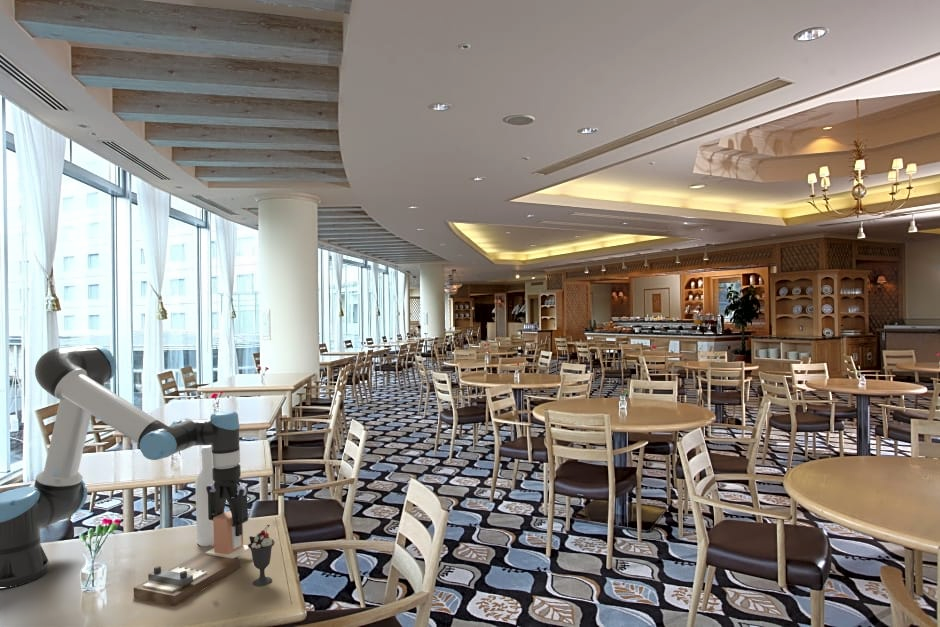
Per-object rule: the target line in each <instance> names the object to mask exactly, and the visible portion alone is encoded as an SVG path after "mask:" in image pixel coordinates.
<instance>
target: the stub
mask: <svg viewBox="0 0 940 627" xmlns="http://www.w3.org/2000/svg"><path fill="white" fill-rule="evenodd" d="M233 524H234V523H233V518H232V514H231V510H226V511H224V513H223V514H220V515H218V516H216V517H214V518H213V525H214V545H213V548H211V549H210V550H208V551H205V553H206V554H207V555H213V556H219V557H226V558H232V559H233V558H237V557H239V556H240V555H242V554H245V552H248V551H249V550H251V549H250V548H249V547H248V545H246V544H244V523H242V535H241V545H240V546H239V547H237V548H235V549H233V548H232V525H233Z"/></svg>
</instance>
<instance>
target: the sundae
mask: <svg viewBox="0 0 940 627" xmlns="http://www.w3.org/2000/svg"><path fill="white" fill-rule="evenodd" d="M270 526H271V525H270V524H267V525H266V527H265V528H264V529H263V530H260V532H259V533H257V534H256V535H255V536H249V537H248V539H249V542H250V543H248V545H247V546H248V547H249V548H250V549H249V550H250V552H251V558H252V563H253V566H254V567H255V568H256V569H258V570H259V577H258V578H256V579H254V580H253V581H252V585H253V586H254V587H264V586H267V585H269V584H271V583H272V582H273V578H272V577H269V576H266V573H265V570H266V568H267V567H268V566H269V565H270V563H271V557H272V548H273V546H275V539H272V538H271V536H270V534H269V533H268V532H267V530H268V528H269V527H270Z"/></svg>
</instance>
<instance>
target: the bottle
mask: <svg viewBox="0 0 940 627" xmlns="http://www.w3.org/2000/svg"><path fill="white" fill-rule="evenodd" d="M200 454H201V468H202V469H201V470H200V471H199V472H198V474H196V478H195V481H194V483H195V484H194V486H195V510H196V511H195V512H196V513H195V514H196V541H197V542H196V543H198V544H199V545H201V546H200V547H210V546H209V545H213V546H214V525H213V520H209V519H208V493H207V490H206V487H207V486H210V485H212V484H214V482H215V481H213V476H212V469H213V466H212V448H211V445H202V447H201V451H200ZM198 544H197V545H198ZM199 545H198V546H199Z"/></svg>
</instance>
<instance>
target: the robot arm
mask: <svg viewBox="0 0 940 627" xmlns="http://www.w3.org/2000/svg"><path fill="white" fill-rule="evenodd" d="M116 371H117V361H116V358H115V356H114V355H113V354H112V352H111V351H110V350H109V349H107V348H106V347H104V346H103V345H102V346H101V345H90V344H86V345H79V346H68V347H57V348H53V349H50V350H48V351H47V352H45V353H43V354H42V356H40V358H38V360H37V362H36V364H35V368H34V376H35V378H36V381H37V384H39V386H40V387H42V389H43V390H45V391H46V393H49V395H51V396H53V397H54V398H56V399H57V400H59V402H58V407H57V412H56V416H55V420H54V425H53V429H52V434H51V437H50V438H51V439H50V442H49V447H48V452H47V455H46V460H45V464H44V469H43V471H41V472H40V473H38V474H37V475H36V476H35V480H34V484H33V486H20V487H15V488H14V489H9V490H6V491H3V492H0V587H10V586H15V585H19V586H21V585H20V584H22V585H24V584H23V583H25V584H28V583H30V582H29V581H31V582H33V581H35V579H36V580H37V578H38V579H40V578H41V576H42V577H43V576H45V575H46V574H47V573H48V572H49V570H50V561H49V559H48V556H47V554H46V551H45V550H44V548H43V546H42V544H41V530H43V528H46V527H49V526H50V525H53V524H55V523H58V522H60V521H63V520H66V519H67V518H70V517H71V516H73V515H74V514H76V513H77V512H79V511H80V510H82V508H83V506H84V505H85V504H86V501H87V498H88V488H87V487H86V483H85V481H84V480H83V478H84V477H83V475H82V474H81V473H80V472H79V470H80V465H81V460H82V457H83V452H84V447H85V443H86V440H87V435H88V431H89V430H88V429H89V426H90V422H91V417H92V416H93V417H94V418H96V419H98V420H100V421H101V422H103V423H104V424H105V425H108V426H110V428H113V429H114V430H116V431H117V432H119V433H120V434H122V435H124V436H125V437H127V438H129V439H130V440H132V441H134V442H135V443H137V444H138V445H139V450H140V452H141V453H142V455H143V457H144V458H146V459H148V460H150V461H158V460H161V459H166V458H169V457H170V456H172V455H174V454H176V453H178V452H181V451H184V450H187V449H190V448H193V447H194V446H195V447H196V446H207V445H211V448H212V466H213V469H212V476H213V481H215V482H214V484H212V485H210V486H207V487H206V490H207V493H208V519H209V520H213V518H214V517H216V516H218V515H220V514H223V513H225V507H226V503H229V504H228V506H229V509H230V510H229V511H231V514H232V518H233V523H234V524H233V525H232V548H233V549H235V548H237V547H239V546H240V545H241V535H242V523H243V524H244V523H246V522H248V521H249V511H248V508H249V507H248V493H249V488H248V487H247V486H246V487H243V486H241V483H240V479H241V478H240V477H241V474H242V473H241V465H240V463H241V457H240V456H241V452H240V450H241V449H240V448H241V447H240V422H239V420H240V419H239V414H238V412H236V411H234V410H225V411H223V410H221V411H216V412H213V413H211V415H210V418H205V419H204V418H199V419H198V418H184V419H176V420H173V422H172V423H171V424H170V425H169V426H168V425H167V424H165V423H164V422H162V421H160V420H159V419H157V418H155V417H153V416H152V415H150V414H148V413H147V412H146V411H144V410H142V409H140V408H139V407H138V406H136V405H134V404H133V403H131V402H129V401H128V400H126V399H125V398H123V397H121V396H120V395H118V394H117V393H114V392H113V391H112V390H110V389H108V388H107V387H105V383H108V381H110V380H111V379H113V378H114V376H115V375H116ZM226 501H227V502H226ZM39 577H40V578H39ZM32 580H33V581H32ZM27 582H28V583H27ZM15 587H16V586H15Z"/></svg>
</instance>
